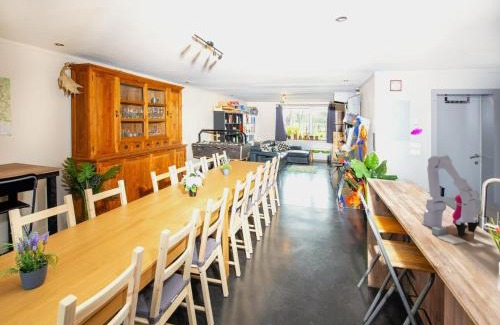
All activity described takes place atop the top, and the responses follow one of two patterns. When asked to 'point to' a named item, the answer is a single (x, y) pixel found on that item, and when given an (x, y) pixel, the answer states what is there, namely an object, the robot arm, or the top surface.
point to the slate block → (439, 231)
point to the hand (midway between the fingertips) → (465, 235)
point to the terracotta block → (451, 230)
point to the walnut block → (467, 235)
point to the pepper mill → (457, 209)
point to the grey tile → (451, 239)
